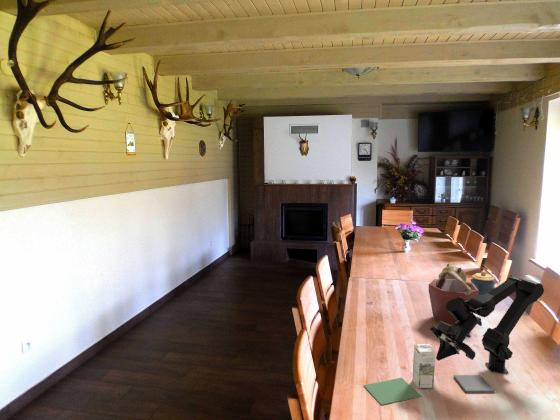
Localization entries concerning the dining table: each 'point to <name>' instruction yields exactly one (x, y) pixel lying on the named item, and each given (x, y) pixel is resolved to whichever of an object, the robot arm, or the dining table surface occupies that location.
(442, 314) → the bucket
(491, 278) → the canister
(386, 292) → the dining table surface
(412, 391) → the felt mat
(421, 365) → the syrup box
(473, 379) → the slate coaster
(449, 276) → the frog figurine
